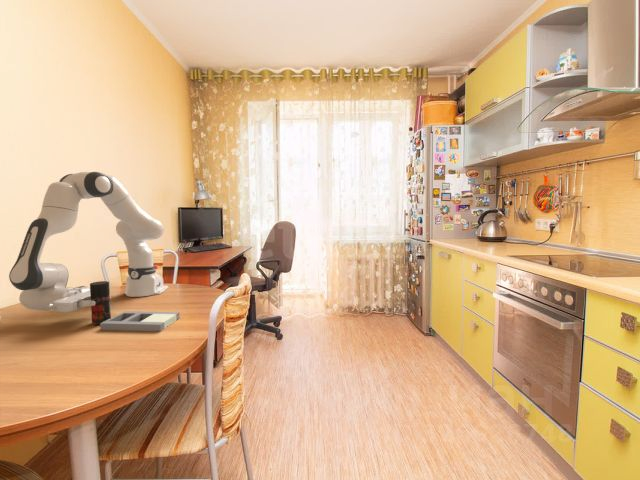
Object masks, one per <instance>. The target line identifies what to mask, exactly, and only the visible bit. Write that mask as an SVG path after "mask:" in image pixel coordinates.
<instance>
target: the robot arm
mask: <svg viewBox="0 0 640 480" xmlns="http://www.w3.org/2000/svg"><path fill="white" fill-rule="evenodd" d="M94 198H100V200H101V201H102V202H103V204H104V205H105V206H106V207H107V209H108V210H109V211H110V212H111V214H112V215H113V217H115V218H116V219H117V220H119V221H118V222H117V224H116V225H115V232H116V234H117V235H118V236H119V237H120V238H121V239H122V241H123V242H124V245H125V248H126V250H127V258H128V267H127V274H128V276H127V277H126V283H125V284H126V285H125V291H123V294H125V296H127V297H129V298H130V297H132V298H136V297H137V298H139V297H148V296H154V295H161V294H162V293H164V291H167V289H168V288H169V285H164V277H162V276H161V275H159V274H158V273H157V271H156V270H158V269H159V265H154V251H153V250H152V249H151V248H150V247H149V245H148V243H147V242H146V241H154V240H158V239H160V238H161V237H162V236H163V234H164V230H165V229H164V228H165V227H164V225H163V223H162V222H161V221H159V220H157V219H156V218H154V217H152V216H151V215H150V214H149V213H147V212H146V211H145V210H143V209H142V207H140V206H139V205H138V204H137V202H136V201H135V200H134V198H133V197H132V196H131V194H130V193H129V191H128V190H127V189H126V187H125V186H124V185H123V184H122V183H121V181H119V180H118V179H117V178H116V177H114V176H113V175H109V174H108V175H107V174H105V173H103V172H99V171H92V172H91V171H81V172H76V173H70V174H66V175H64V176H62V177H61V178H60V179H59V181H56V182H55V181H54V182H52V183H50V184H49V186H47V189H46V193H45V194H44V198H43V200H42V206H41V211H40V213H39V215H38V217H37V218H36V219H34V220H33V221H32V222H31V223H30V225H29V226H28V228H27V231H26V234H25V236H24V239H23V242H22V245H21V248H20V250H19V253H18V256H17V259H16V261H15V263H14V264H13V266H12V267H11V269H10V271H9V273H8V279H9V281H10V283H11V285H12V286H13V287H14V288H15V289H17V290H20V291H21V292H20V295H19V303H20V304H21V305H22V306H23V307H24V308H26V309H28V310H34V311H43V312H44V311H53V312H56V313H72V312H74V311H77V310H79V309H81V308H85V307H91V306H94V305H96V304H97V300H91V294H90V287H88V285H82V286H75V287H74V286H71V287H67V285H68V281H69V270H68V268H67V267H66V266H65V265H63V264H61V263H52V262H51V263H50V262H40V261H41V257H42V253H43V251H44V248H45V244H46V242H47V240H48V239H49V238H50V237H51V236H54V235H56V234H61V233H64V232H67V231H69V230H71V229H72V228H73V227H74V226H75V224H76V222H77V219H78V213H79V203H80V201H81V200H82V199H83V200H84V199H85V200H86V199H87V200H89V199H94ZM111 299H112V296H111V294H110V300H111Z"/></svg>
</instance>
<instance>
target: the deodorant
mask: <svg viewBox="0 0 640 480" xmlns="http://www.w3.org/2000/svg"><path fill="white" fill-rule="evenodd" d="M89 288H90V294H91V300H97V304H96V305H94V306H90V309H91V310H90V311H91V312H90V313H91V323H92V324H93V325H100V323H102V322H104V321H106V320H108V319H110V318H112V317H111V314H112V313H111V299H110V295H111V294H110V281H106V280H102V281H101V280H100V281H94V282H91V283H89Z"/></svg>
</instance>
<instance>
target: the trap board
mask: <svg viewBox="0 0 640 480" xmlns="http://www.w3.org/2000/svg"><path fill="white" fill-rule="evenodd" d="M177 319H178V320H179V319H180V312H178V311H137V310H134V311H131V310H125V311H123V312H120V313H118V314H117V315H115V316H112V317H111V318H110V319H108V320H106V321H104V322H102V323H100V324H99V325H100V327H99V328H100V331H120V332H121V331H122V332H123V331H125V332H126V331H127V332H130V331H131V332H163V329H164V330H165V329H167V328H168V327H169V326H171V325H172V324H173V322H174V321H175V322H177V321H178V320H177ZM176 320H177V321H176ZM175 322H174V323H175ZM170 324H171V325H170ZM167 326H168V327H167Z"/></svg>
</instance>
